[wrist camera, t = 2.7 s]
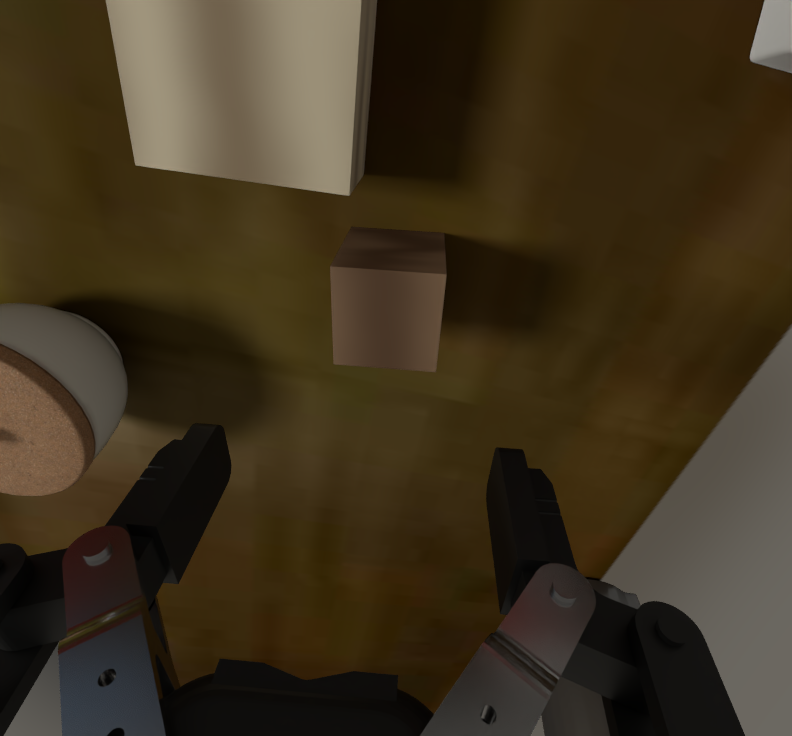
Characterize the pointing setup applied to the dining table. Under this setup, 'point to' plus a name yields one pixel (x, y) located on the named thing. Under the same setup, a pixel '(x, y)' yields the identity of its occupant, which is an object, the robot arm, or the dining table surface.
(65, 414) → the lidded jar
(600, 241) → the dining table surface
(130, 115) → the birch block
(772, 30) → the perfume bottle
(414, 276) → the walnut block
